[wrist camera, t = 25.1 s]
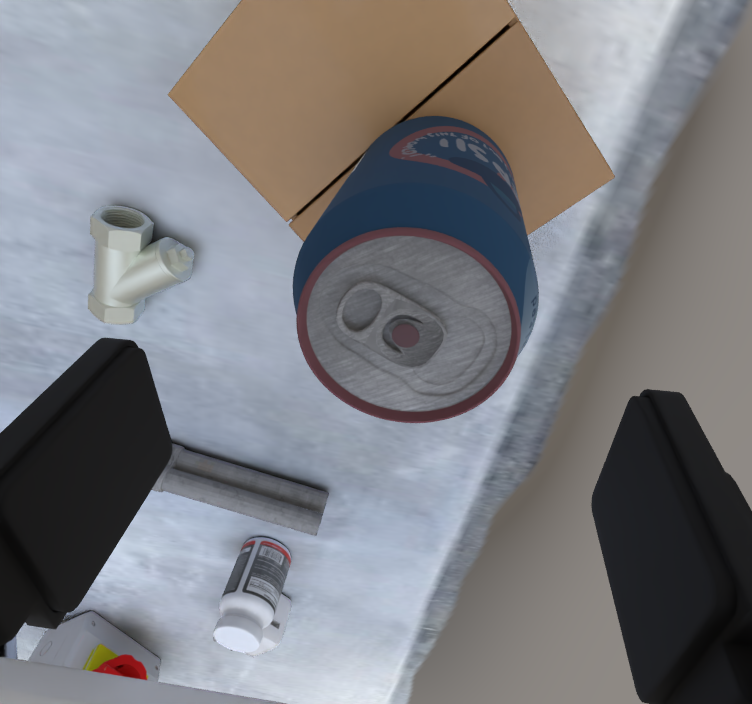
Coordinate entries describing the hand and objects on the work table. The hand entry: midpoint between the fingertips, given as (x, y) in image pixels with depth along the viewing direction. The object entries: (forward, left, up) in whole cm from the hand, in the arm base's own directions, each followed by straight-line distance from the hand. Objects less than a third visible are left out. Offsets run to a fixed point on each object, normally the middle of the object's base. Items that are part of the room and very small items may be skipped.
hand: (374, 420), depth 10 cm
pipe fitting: (+6, -22, -26) cm, 35 cm away
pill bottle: (+41, -24, -26) cm, 54 cm away
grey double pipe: (+26, -26, -26) cm, 45 cm away
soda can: (0, 0, -16) cm, 16 cm away
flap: (-6, -3, -16) cm, 17 cm away
